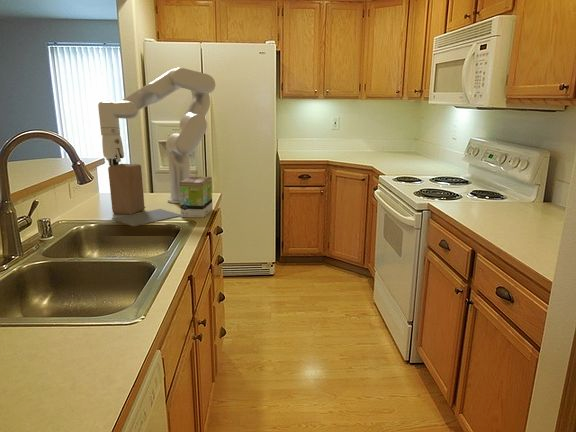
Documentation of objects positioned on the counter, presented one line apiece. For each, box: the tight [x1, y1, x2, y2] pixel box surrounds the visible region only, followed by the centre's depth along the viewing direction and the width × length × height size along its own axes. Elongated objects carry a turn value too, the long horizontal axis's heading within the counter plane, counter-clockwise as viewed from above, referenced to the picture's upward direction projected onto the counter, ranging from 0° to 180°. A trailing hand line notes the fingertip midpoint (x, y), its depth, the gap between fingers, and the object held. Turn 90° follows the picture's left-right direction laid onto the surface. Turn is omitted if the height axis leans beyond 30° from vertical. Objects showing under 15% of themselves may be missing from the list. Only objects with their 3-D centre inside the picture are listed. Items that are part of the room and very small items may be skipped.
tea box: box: [179, 176, 213, 218], centre depth 182 cm, size 15×10×15 cm
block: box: [107, 163, 145, 215], centre depth 184 cm, size 10×10×20 cm
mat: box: [111, 208, 181, 227], centre depth 177 cm, size 22×16×1 cm
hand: (114, 174), depth 189 cm, fingers closed
